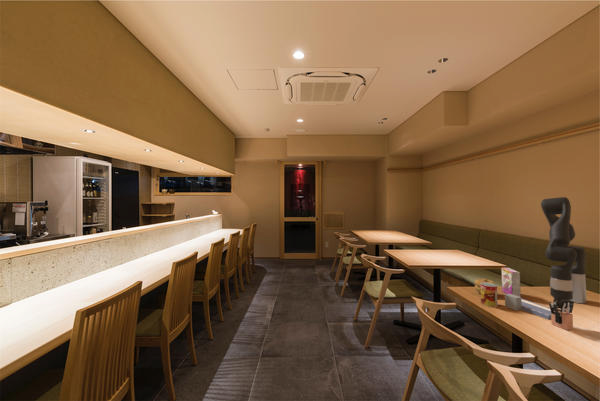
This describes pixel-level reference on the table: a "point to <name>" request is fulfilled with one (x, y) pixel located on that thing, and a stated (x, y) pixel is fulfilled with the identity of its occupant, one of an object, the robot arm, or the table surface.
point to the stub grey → (513, 302)
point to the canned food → (488, 294)
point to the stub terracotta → (564, 321)
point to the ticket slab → (536, 309)
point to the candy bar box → (511, 281)
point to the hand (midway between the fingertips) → (561, 322)
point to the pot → (478, 285)
